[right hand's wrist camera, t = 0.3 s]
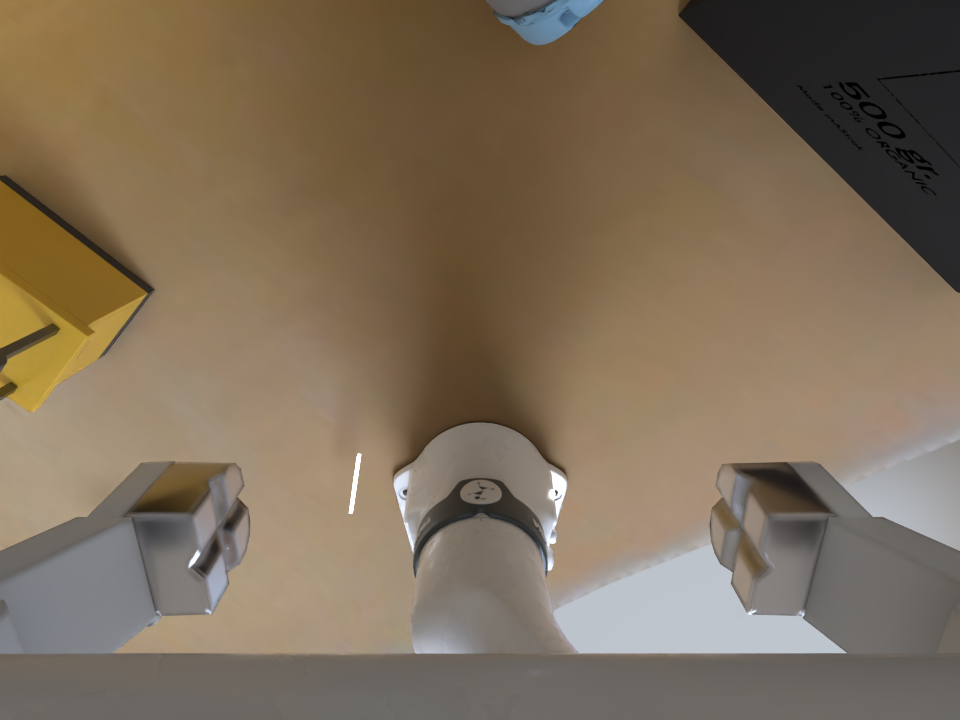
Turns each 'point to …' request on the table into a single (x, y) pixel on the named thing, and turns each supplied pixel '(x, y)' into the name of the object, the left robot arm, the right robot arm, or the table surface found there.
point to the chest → (68, 270)
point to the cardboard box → (861, 98)
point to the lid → (34, 341)
